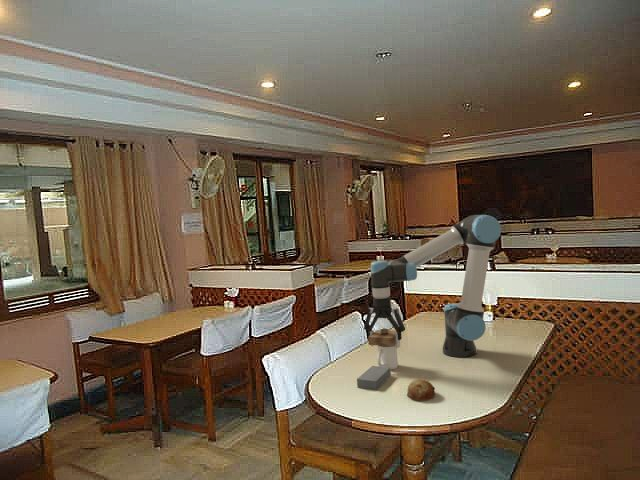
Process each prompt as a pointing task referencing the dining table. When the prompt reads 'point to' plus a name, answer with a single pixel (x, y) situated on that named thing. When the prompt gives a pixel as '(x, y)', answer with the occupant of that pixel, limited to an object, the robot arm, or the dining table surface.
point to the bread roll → (420, 390)
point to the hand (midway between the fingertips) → (385, 346)
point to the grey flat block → (373, 377)
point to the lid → (382, 338)
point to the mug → (387, 357)
